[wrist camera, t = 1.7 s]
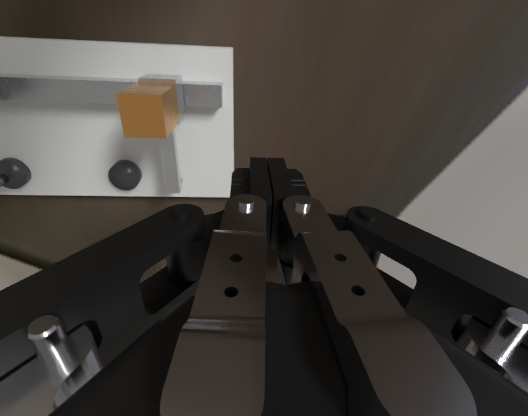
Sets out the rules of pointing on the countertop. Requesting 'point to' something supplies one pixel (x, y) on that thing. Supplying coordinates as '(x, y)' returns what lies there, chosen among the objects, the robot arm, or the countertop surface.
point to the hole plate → (112, 123)
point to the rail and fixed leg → (93, 91)
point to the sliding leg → (155, 117)
